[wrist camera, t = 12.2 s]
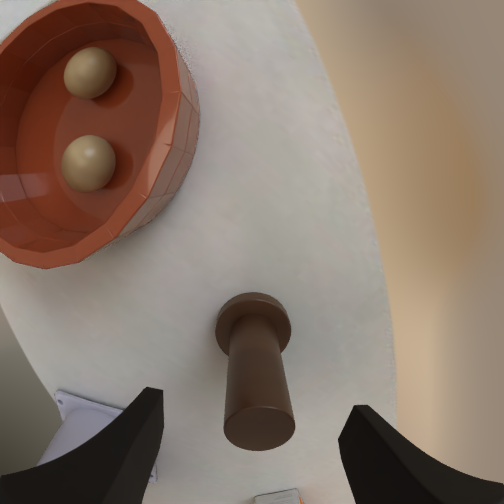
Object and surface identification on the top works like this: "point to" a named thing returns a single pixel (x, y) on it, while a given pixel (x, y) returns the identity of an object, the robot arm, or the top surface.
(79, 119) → the bowl
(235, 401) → the pestle
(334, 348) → the top surface
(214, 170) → the top surface
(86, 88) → the bead
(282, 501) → the cosmetic box
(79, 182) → the bead
